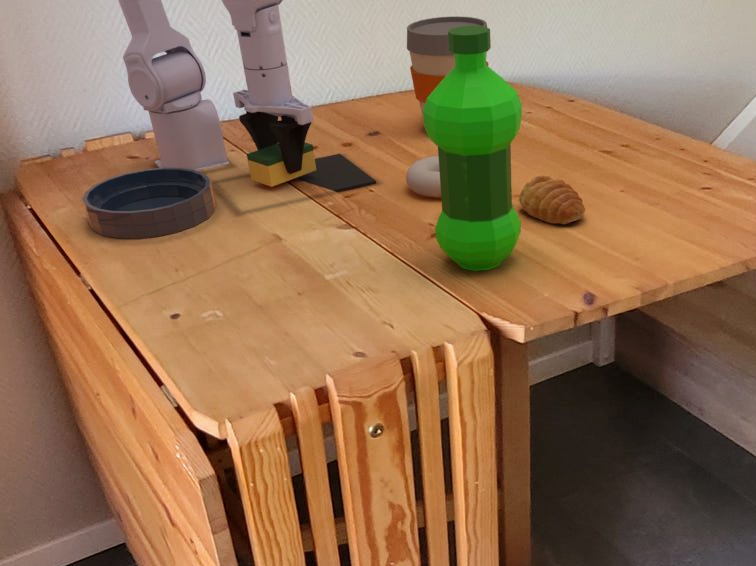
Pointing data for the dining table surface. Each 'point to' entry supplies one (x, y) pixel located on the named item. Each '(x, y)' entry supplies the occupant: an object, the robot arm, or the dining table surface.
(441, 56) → the reusable coffee cup
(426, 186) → the donut
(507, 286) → the dining table surface
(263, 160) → the sponge
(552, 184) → the pastry
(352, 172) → the drying mat
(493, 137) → the plastic bottle
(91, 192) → the bowl
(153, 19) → the robot arm
